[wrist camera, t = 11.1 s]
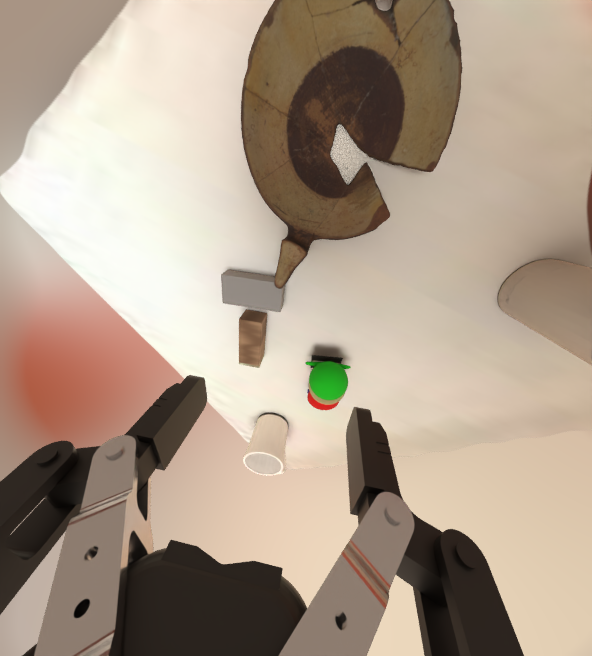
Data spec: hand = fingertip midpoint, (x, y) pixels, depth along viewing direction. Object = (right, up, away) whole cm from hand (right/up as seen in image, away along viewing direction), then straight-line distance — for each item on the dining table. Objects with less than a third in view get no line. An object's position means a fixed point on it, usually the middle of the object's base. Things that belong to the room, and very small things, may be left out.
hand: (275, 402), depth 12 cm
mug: (-4, -21, +45) cm, 50 cm away
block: (-6, +6, +28) cm, 29 cm away
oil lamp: (+5, +26, +17) cm, 32 cm away
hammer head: (-6, +11, +27) cm, 30 cm away
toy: (+7, -6, +35) cm, 36 cm away
